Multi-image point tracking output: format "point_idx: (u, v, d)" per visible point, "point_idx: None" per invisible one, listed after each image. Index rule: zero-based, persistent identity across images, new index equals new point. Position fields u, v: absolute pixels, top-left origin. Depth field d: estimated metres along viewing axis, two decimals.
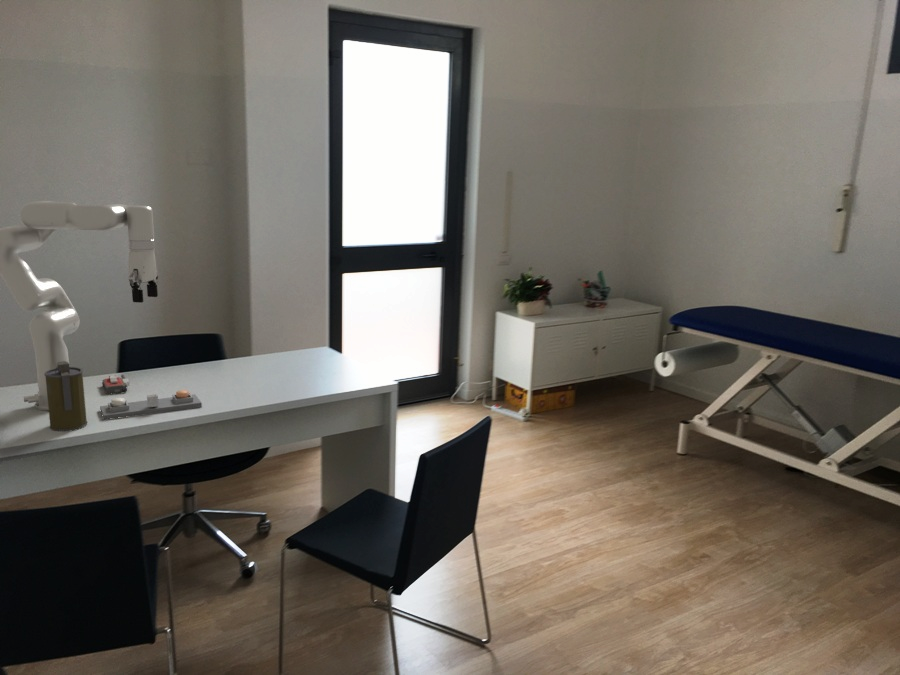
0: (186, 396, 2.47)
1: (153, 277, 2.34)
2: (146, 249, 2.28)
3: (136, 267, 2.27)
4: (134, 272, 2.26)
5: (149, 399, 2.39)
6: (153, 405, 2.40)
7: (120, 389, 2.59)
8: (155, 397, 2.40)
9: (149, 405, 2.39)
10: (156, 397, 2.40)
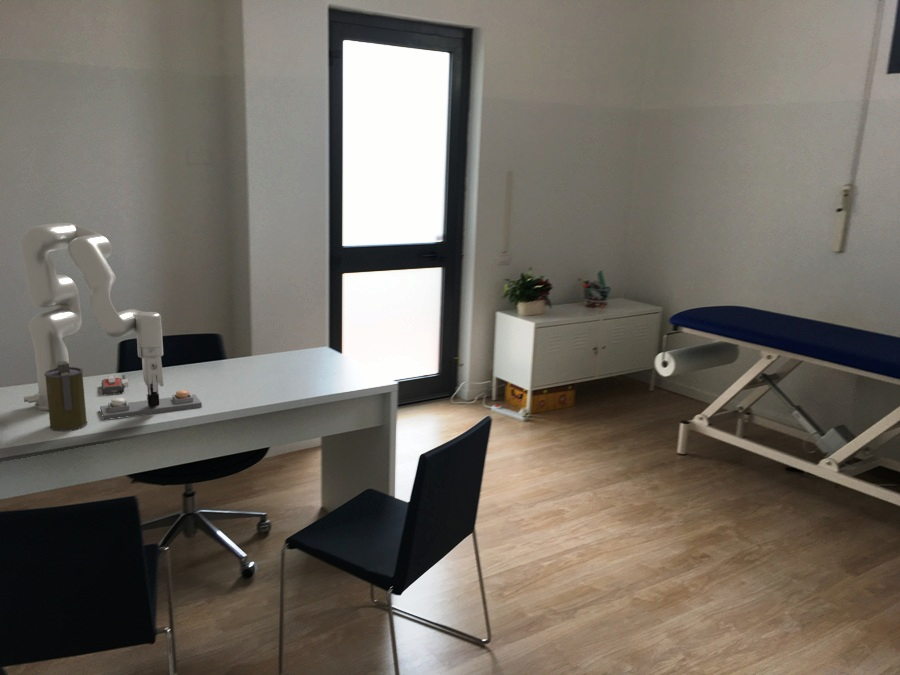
0: (186, 396, 2.47)
1: (146, 384, 2.34)
2: None
3: None
4: None
5: None
6: None
7: (117, 390, 2.58)
8: None
9: None
10: None
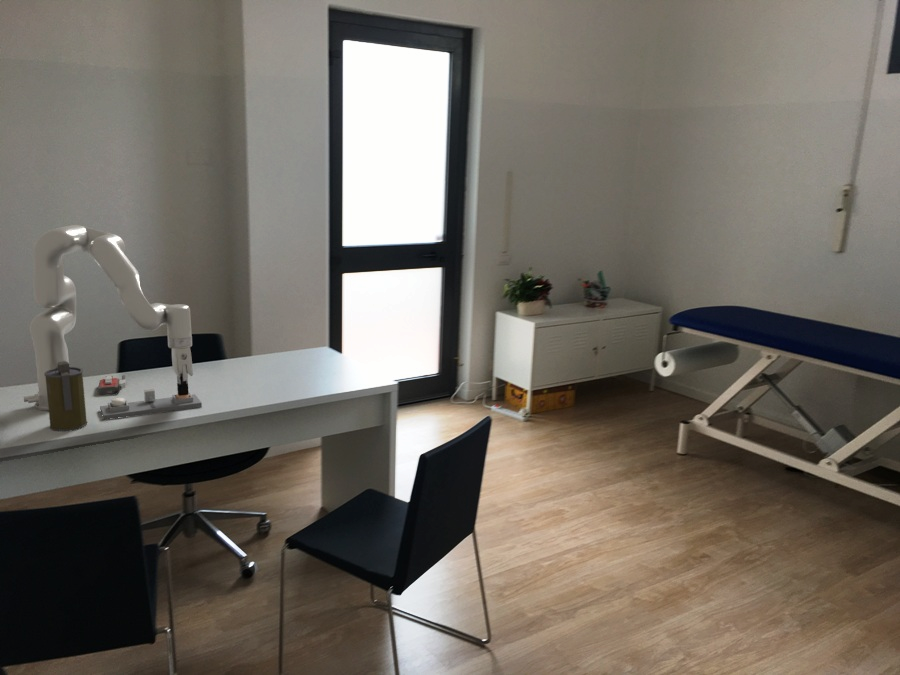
0: None
1: (176, 373, 2.44)
2: None
3: None
4: None
5: (146, 394, 2.44)
6: (150, 400, 2.45)
7: (112, 390, 2.57)
8: (152, 392, 2.45)
9: (146, 400, 2.44)
10: (153, 392, 2.45)
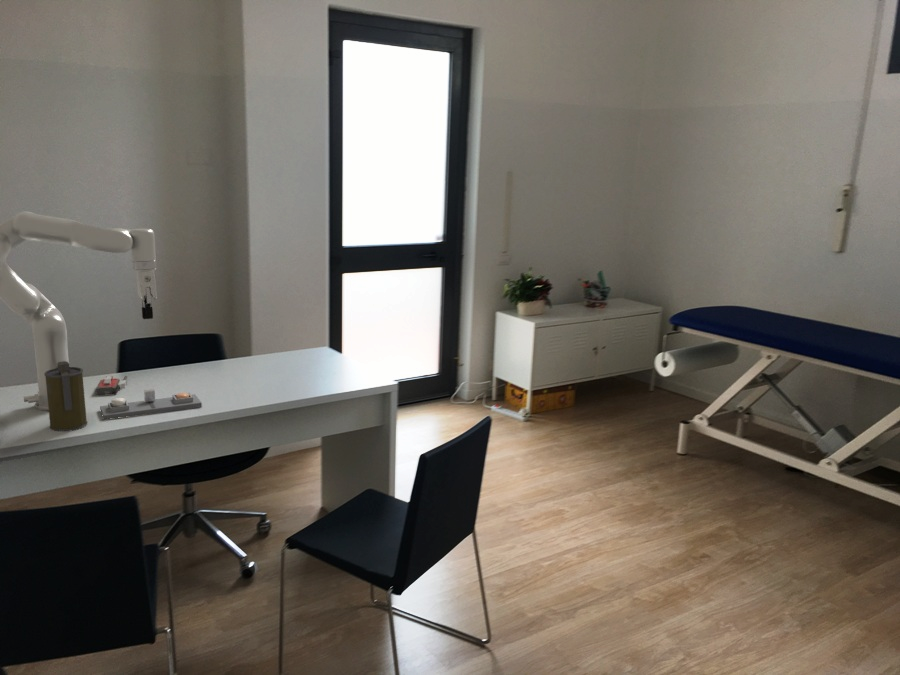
0: None
1: (140, 296, 2.49)
2: None
3: None
4: None
5: (146, 394, 2.44)
6: (150, 400, 2.45)
7: (110, 391, 2.57)
8: (152, 392, 2.45)
9: (146, 400, 2.44)
10: (153, 392, 2.45)
